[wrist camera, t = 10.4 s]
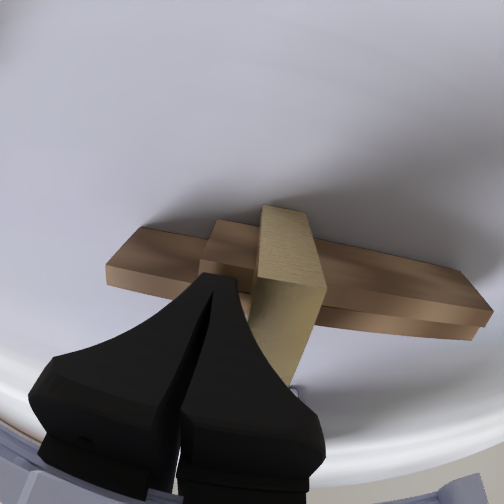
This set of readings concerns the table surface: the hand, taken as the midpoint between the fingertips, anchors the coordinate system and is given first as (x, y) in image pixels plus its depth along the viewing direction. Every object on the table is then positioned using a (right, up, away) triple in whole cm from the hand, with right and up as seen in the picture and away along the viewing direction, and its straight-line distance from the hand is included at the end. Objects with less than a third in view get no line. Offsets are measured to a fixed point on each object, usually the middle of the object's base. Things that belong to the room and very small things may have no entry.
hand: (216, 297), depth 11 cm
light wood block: (+2, +2, +4) cm, 5 cm away
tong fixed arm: (+4, +1, +5) cm, 6 cm away
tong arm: (+6, +1, +4) cm, 8 cm away
